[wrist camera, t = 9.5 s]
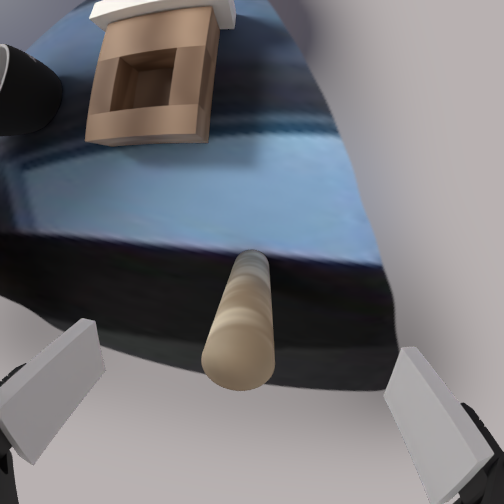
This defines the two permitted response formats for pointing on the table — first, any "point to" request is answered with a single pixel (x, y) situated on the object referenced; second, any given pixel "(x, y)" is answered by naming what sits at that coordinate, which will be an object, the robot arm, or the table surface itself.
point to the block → (155, 79)
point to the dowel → (242, 328)
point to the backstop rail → (158, 10)
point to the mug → (26, 92)
